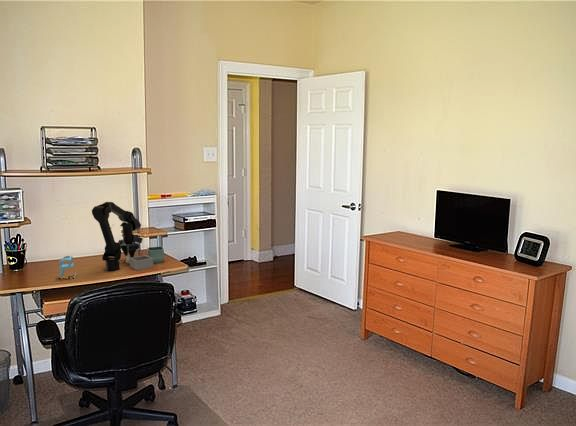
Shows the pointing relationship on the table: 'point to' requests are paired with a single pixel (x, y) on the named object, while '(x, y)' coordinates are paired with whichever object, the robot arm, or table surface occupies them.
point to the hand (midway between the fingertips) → (129, 258)
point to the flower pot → (156, 254)
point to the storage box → (141, 262)
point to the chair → (65, 266)
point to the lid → (127, 259)
